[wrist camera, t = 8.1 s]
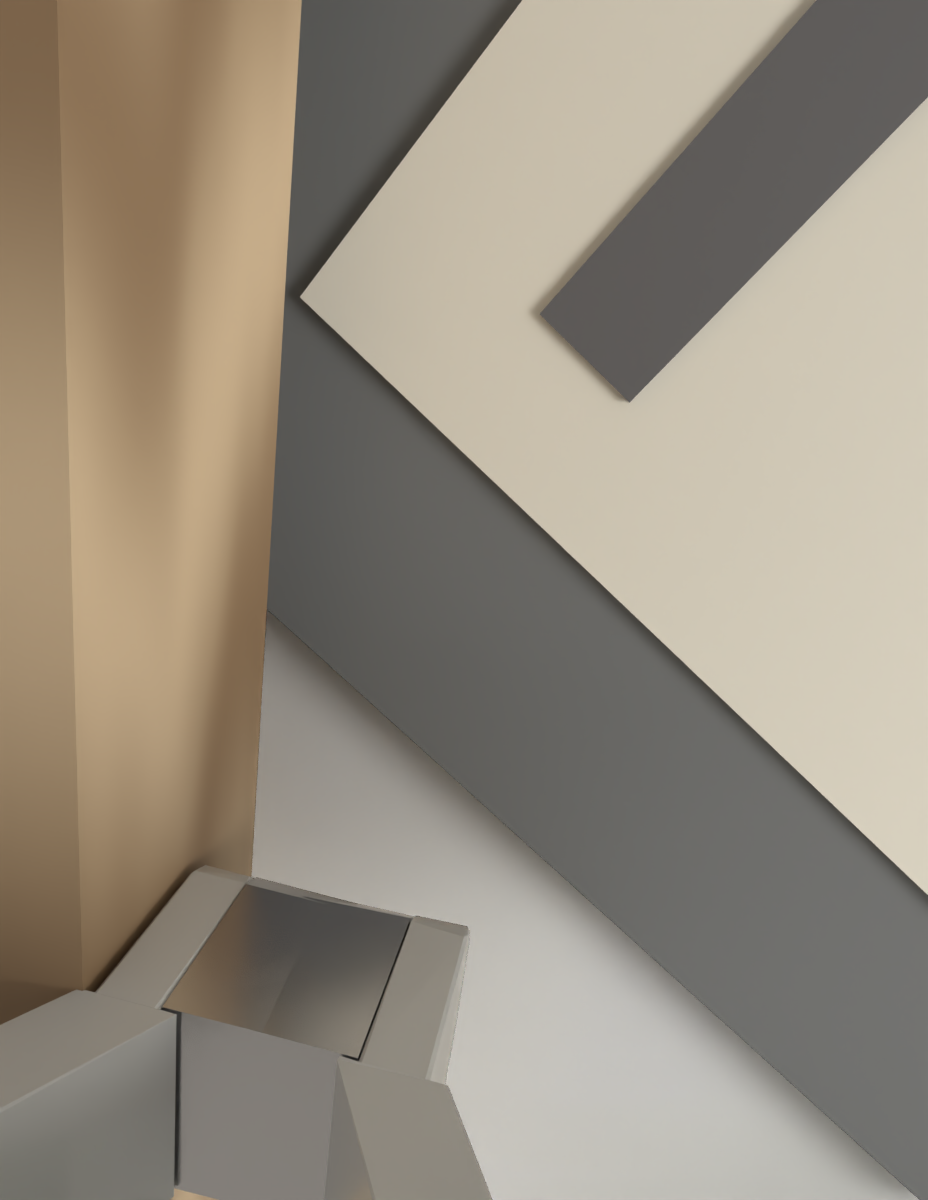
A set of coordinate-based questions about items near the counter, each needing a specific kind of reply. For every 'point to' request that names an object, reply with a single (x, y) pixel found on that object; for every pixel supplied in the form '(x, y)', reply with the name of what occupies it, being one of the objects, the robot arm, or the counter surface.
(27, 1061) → the robot arm
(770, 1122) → the counter surface
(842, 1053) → the label board
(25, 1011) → the swing arm
